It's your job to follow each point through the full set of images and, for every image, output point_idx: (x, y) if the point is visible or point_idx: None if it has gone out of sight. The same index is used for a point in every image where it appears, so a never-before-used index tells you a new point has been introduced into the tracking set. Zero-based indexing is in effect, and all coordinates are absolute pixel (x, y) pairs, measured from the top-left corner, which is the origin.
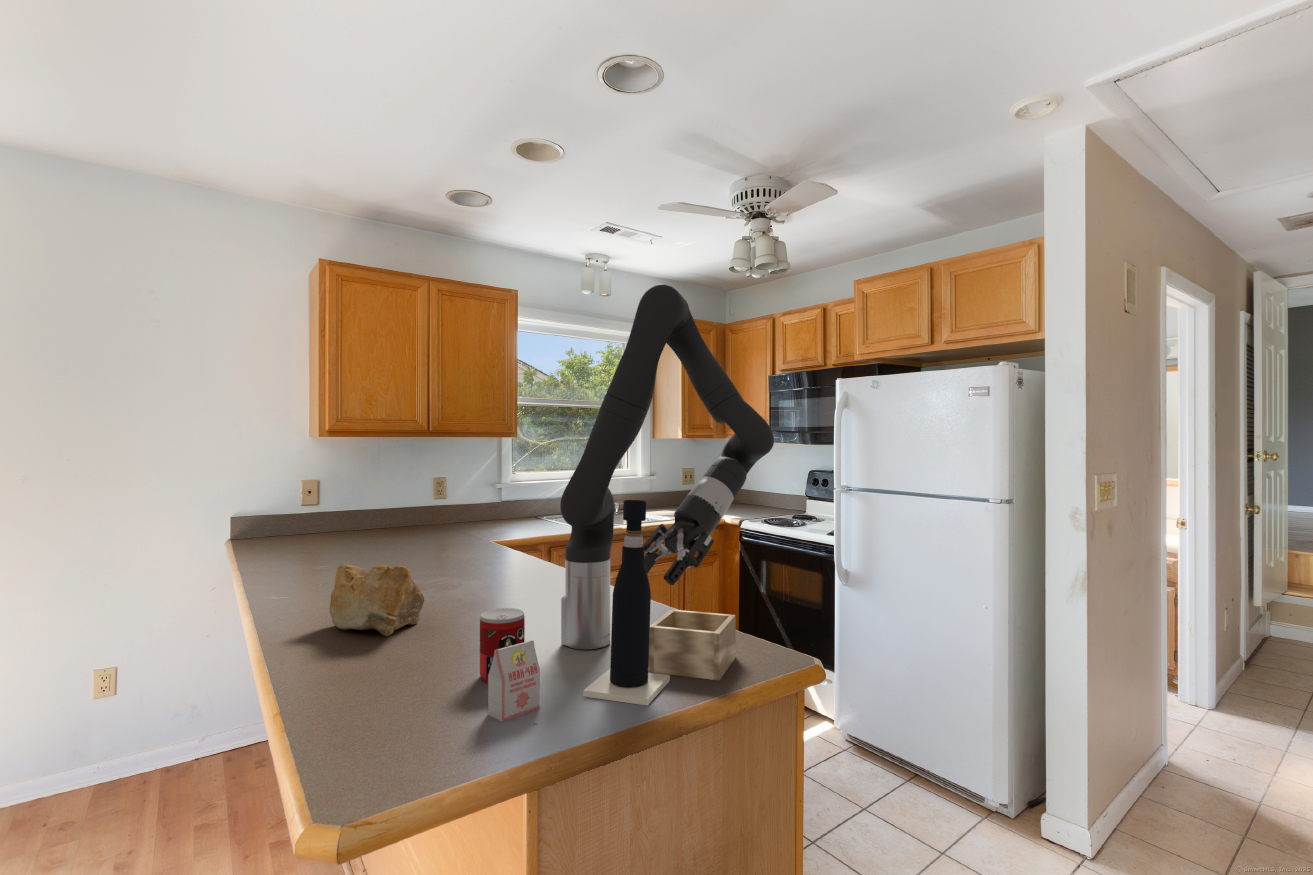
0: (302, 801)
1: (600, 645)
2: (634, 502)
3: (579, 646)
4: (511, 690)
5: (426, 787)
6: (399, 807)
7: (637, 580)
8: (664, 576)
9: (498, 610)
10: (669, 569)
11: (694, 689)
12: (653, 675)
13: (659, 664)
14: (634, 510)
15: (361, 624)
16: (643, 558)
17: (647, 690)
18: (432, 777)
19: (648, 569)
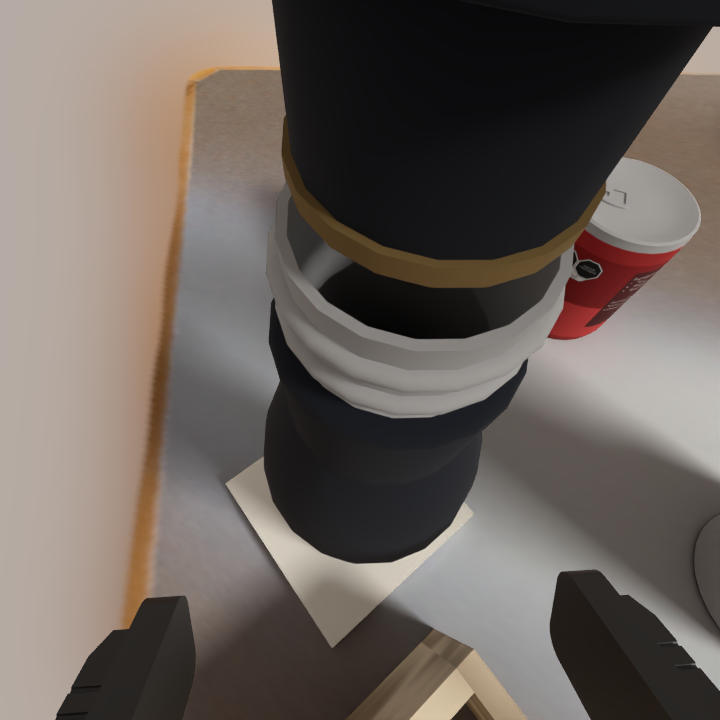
0: (268, 68)
1: (709, 601)
2: None
3: (707, 529)
4: None
5: (212, 137)
6: (190, 114)
7: (272, 401)
8: (170, 597)
9: (685, 206)
10: (138, 672)
11: (231, 677)
12: (356, 595)
13: (411, 661)
14: None
15: None
16: (304, 433)
17: (271, 514)
18: (230, 145)
19: (593, 706)
